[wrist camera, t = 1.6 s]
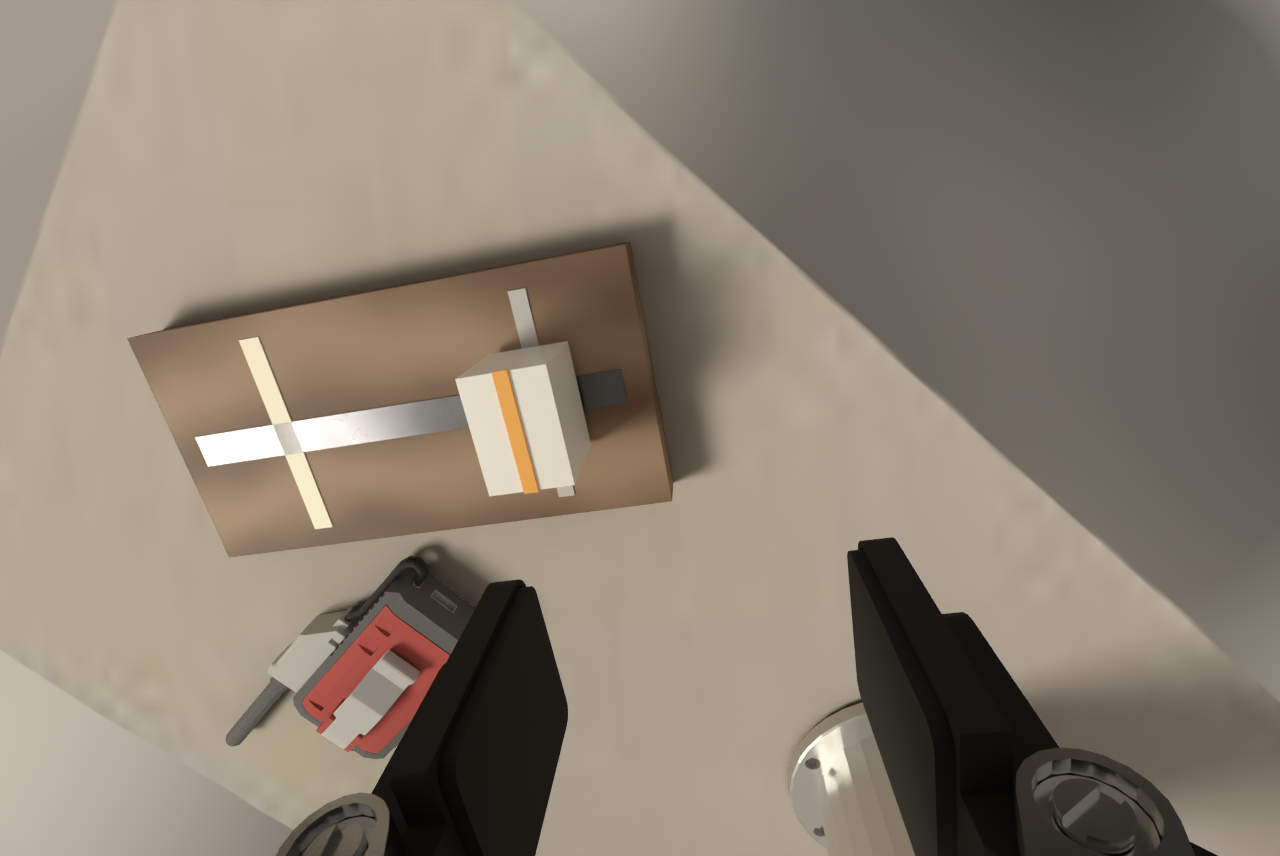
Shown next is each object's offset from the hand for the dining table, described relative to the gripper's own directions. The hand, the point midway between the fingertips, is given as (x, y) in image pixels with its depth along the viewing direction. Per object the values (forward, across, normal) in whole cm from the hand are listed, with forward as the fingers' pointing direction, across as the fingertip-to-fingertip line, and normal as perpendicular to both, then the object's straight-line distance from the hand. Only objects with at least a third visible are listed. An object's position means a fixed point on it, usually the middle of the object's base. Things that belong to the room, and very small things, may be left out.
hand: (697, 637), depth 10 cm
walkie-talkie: (+20, +23, +16) cm, 34 cm away
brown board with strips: (+19, +14, 0) cm, 24 cm away
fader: (+17, +7, 0) cm, 18 cm away
